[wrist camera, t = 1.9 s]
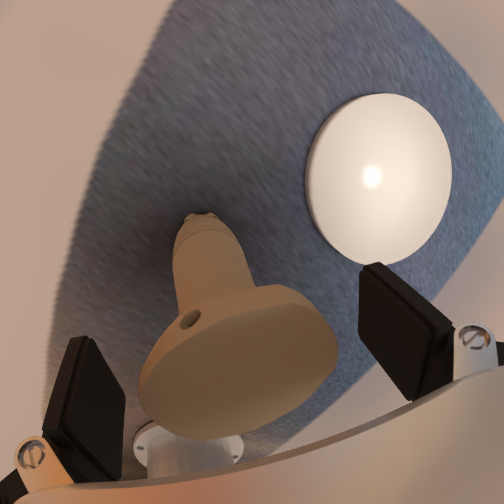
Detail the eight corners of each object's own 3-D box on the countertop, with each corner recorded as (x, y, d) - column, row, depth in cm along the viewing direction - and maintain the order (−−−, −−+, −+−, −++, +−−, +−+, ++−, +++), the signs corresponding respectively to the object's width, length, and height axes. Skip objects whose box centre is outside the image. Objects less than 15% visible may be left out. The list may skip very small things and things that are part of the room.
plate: (439, 238, 28) (448, 244, 27) (314, 277, 26) (321, 285, 25) (435, 94, 22) (446, 94, 21) (291, 100, 21) (299, 98, 19)
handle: (256, 232, 24) (355, 370, 10) (184, 280, 24) (203, 454, 10) (220, 178, 22) (296, 269, 8) (144, 230, 22) (107, 386, 8)
